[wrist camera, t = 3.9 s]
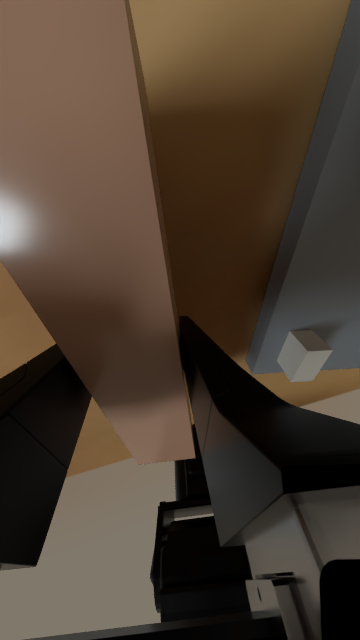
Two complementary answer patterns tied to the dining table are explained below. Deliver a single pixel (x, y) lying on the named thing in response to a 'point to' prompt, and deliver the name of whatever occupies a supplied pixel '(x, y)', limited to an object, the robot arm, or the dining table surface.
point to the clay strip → (91, 213)
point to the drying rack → (320, 240)
